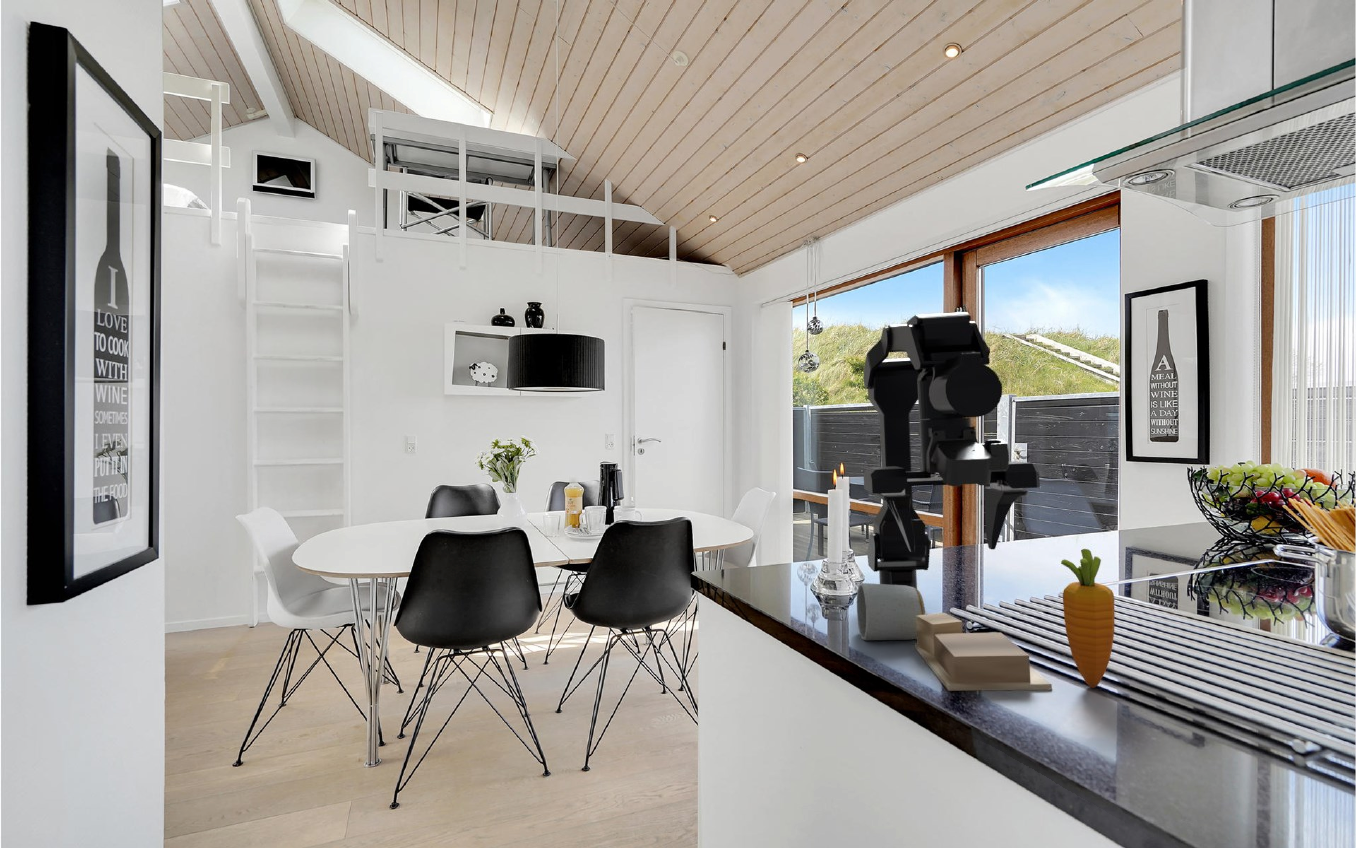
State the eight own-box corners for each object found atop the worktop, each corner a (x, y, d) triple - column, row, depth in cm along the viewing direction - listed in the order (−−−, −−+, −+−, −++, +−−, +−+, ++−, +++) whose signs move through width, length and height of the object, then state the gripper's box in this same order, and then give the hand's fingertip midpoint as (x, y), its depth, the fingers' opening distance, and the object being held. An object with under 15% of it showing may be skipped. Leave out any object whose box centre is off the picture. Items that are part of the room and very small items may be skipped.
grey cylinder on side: (929, 646, 88) (926, 588, 88) (867, 648, 89) (864, 590, 89) (907, 623, 99) (904, 572, 99) (851, 625, 99) (849, 573, 99)
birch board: (915, 648, 88) (914, 643, 88) (1001, 646, 87) (1001, 642, 87) (948, 690, 74) (948, 685, 74) (1051, 689, 73) (1051, 684, 73)
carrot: (1102, 700, 69) (1095, 557, 69) (1056, 685, 74) (1050, 550, 74) (1129, 689, 72) (1122, 551, 72) (1083, 675, 76) (1077, 545, 76)
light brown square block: (934, 658, 82) (933, 633, 82) (1002, 657, 81) (1000, 632, 81) (955, 683, 74) (954, 656, 74) (1030, 682, 73) (1029, 655, 73)
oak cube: (917, 646, 87) (916, 615, 87) (945, 643, 87) (944, 612, 87) (934, 656, 83) (932, 624, 83) (963, 653, 83) (962, 621, 83)
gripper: (879, 422, 72) (886, 566, 71) (1059, 413, 70) (1067, 561, 70) (860, 422, 83) (866, 548, 83) (1015, 415, 81) (1022, 543, 81)
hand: (951, 550), depth 79 cm, fingers open, 9 cm apart
